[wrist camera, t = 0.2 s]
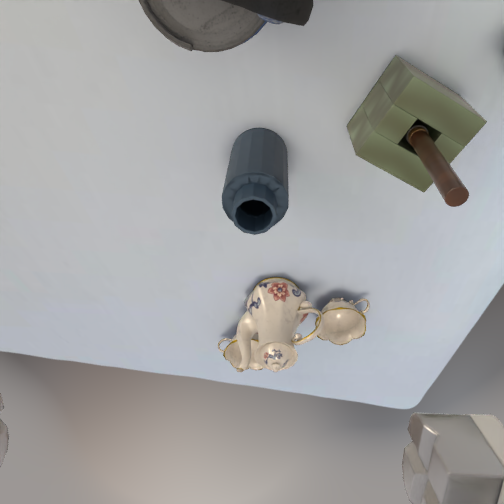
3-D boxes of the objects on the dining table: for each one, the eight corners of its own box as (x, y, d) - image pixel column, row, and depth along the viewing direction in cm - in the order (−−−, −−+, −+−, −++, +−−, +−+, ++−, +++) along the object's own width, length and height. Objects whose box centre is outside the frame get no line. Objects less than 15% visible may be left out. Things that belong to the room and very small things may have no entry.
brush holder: (395, 54, 52) (414, 75, 45) (460, 95, 55) (487, 121, 47) (346, 126, 58) (355, 155, 51) (407, 160, 60) (424, 192, 53)
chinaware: (243, 351, 88) (242, 432, 75) (191, 305, 79) (180, 388, 66) (374, 299, 78) (398, 382, 65) (332, 239, 68) (351, 323, 56)
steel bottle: (258, 116, 58) (252, 171, 45) (298, 153, 60) (303, 215, 48) (220, 154, 61) (205, 216, 48) (260, 188, 64) (255, 255, 51)
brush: (400, 98, 55) (456, 180, 38) (415, 107, 56) (477, 192, 38) (388, 114, 57) (436, 201, 39) (403, 123, 57) (457, 212, 40)
